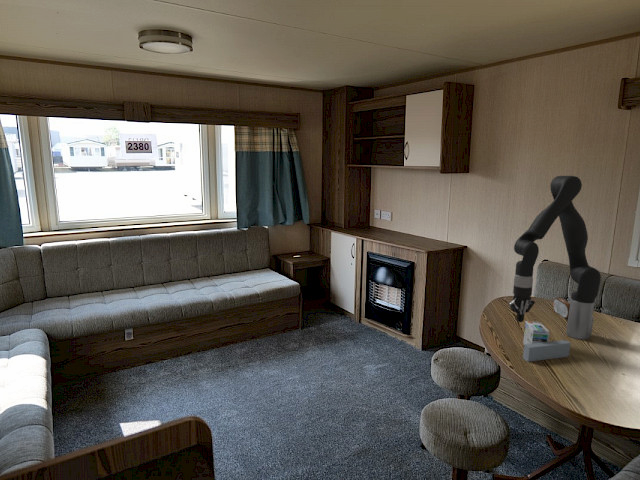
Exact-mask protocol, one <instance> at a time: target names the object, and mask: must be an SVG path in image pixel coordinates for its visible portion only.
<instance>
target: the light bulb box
mask: <svg viewBox="0 0 640 480" xmlns="http://www.w3.org/2000/svg"><path fill="white" fill-rule="evenodd" d="M524 321H525V323H524V331H523V332H524V333H523V341H522V344H523V346H524V345H525V344H534V343H543V342H550V329H548V328H547V327H546V326H545V325H544V324H543V323H542V322H541V321H530V320H524Z"/></svg>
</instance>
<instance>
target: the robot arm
mask: <svg viewBox="0 0 640 480" xmlns="http://www.w3.org/2000/svg"><path fill="white" fill-rule="evenodd" d="M582 186H583V185H582V180H581V179H580V178H579V177H578V176H575V175H558V176H554V177H553V178H552V180H551V181H550V185H549V188H550V193H551V195H552V199H553V201H552V202H551V203H550V204H548V206H547V207H546V208H544V209H542V211H540V213H539V214H537V216H536V217H535V218H534V220H533V221H532V223H531V224H530V226H529V227H528V229H527V230H526V231H524V233H522V235H521V236H519V237H518V238H517V240H516V241H515V243H514V246H513V249H514V250H513V251H514V252H515V253H516V254H517V255H519V256H522V259H521V260H519V261H517V262H516V264H515V271H514V272H515V273H514V274H515V275H514V279H513V290H512V293H513V298H512V301H509V302H508V303H507V304H508V306H509V308H510V310H512V312H513V313H515V314H516V321H517V322H519V323H523V322H524V321H525V314H526V313H529V312H530V310H531V309H532V308H533V306H534V305H535V303H536V301H535V300H533V299H532V295H533V284H534V277H533V276H534V266H535V264H536V262H537V259H538V256H539V251H540V249H539V246H538V244H537V243H536V242H535V241H536V240H542V239H544V237H545V236H546V235H547V233H548V232H549V230H550V228H551V227H552V225H553V224H554V223H555V221H556V220H557V218H558V217H559V222H560V227H561V231H562V235H563V239H564V244H565V247H566V252H567V255H568V262H569V263H568V264H569V271H570V277H571V279H572V280H573V282H575V283H576V284H578V285H577V289H576V290H575V291H572V292H571V295H570V301H569V303H570V309H569V316H568V319H567V325H566V331H565V334H566V335H567V336H568V337H569V338H570V337H571V338H573V339H577V340H588V339H590V338H592V333H593V326H594V317H593V314H594V308H595V307H594V306H595V301H596V298H597V297H598V294H599V290H600V285H601V281H602V280H601V273H600V271H599V270H598V269H597V268H595V267H592V266H590V265H589V263H588V260H587V255H586V248H587V245H588V240H589V236H588V229H587V225H586V223H585V221H584V218H583V217H582V216H581V214H580V213H579V211H578V210H577V209H576V207H575V204H574V203H573V200H574V199H575V198H576V197H577V196H578V195H579V194H580V192H581V190H582Z"/></svg>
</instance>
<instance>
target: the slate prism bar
mask: <svg viewBox="0 0 640 480" xmlns="http://www.w3.org/2000/svg"><path fill="white" fill-rule="evenodd" d="M570 349H571V342H570V341H568V340H566V339H561V340H553V341H549V342H543V343H534V344H525V345H524V344H523V354H522V359H523V360H525V361H526V362H527V363H528V362H536V361H544V360H551V359H552V360H553V359H559V358H567V357H569V356H570V351H571V350H570Z"/></svg>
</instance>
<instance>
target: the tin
mask: <svg viewBox="0 0 640 480" xmlns="http://www.w3.org/2000/svg"><path fill="white" fill-rule="evenodd" d="M552 303H553V306H552V307H553V308H552V309H553V310H554V313H556V314H557V315H559V316H560V317H562V318H563V319H567V320H568V316H569V309H570V301H567V300H566V299H564V298H562V297H555V298H554V299H553V302H552Z"/></svg>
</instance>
